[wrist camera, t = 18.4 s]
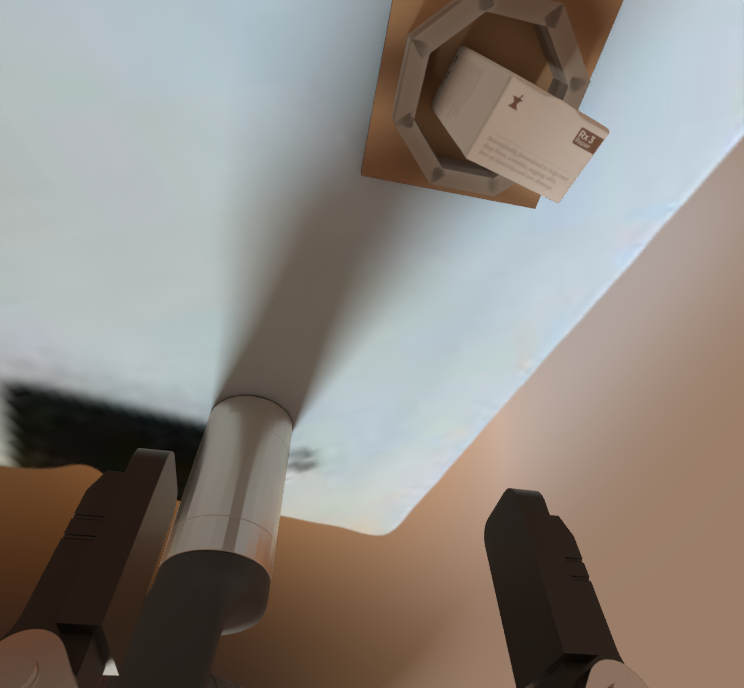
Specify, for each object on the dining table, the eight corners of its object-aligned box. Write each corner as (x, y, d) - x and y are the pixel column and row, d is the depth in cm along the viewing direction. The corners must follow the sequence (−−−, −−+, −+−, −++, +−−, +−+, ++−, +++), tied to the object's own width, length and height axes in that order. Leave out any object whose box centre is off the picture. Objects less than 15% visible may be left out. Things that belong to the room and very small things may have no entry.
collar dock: (531, 203, 39) (546, 224, 35) (361, 170, 37) (361, 189, 34) (619, -7, 30) (649, -5, 27) (404, -64, 28) (409, -69, 25)
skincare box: (427, 107, 33) (455, 163, 24) (461, 38, 31) (508, 69, 21) (501, 146, 35) (555, 212, 25) (539, 83, 32) (615, 131, 23)
